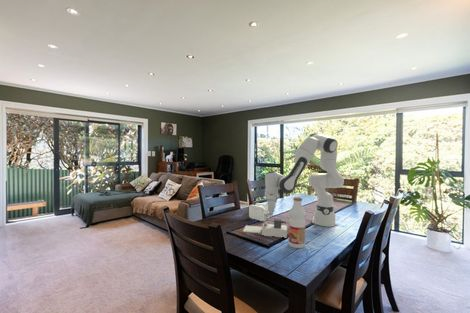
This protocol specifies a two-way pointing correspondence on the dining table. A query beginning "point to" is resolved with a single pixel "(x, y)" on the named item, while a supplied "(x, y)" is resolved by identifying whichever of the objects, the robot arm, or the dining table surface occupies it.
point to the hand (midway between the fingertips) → (271, 214)
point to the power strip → (274, 231)
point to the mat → (252, 229)
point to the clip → (266, 218)
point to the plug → (278, 223)
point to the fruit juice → (297, 224)
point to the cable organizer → (258, 211)
